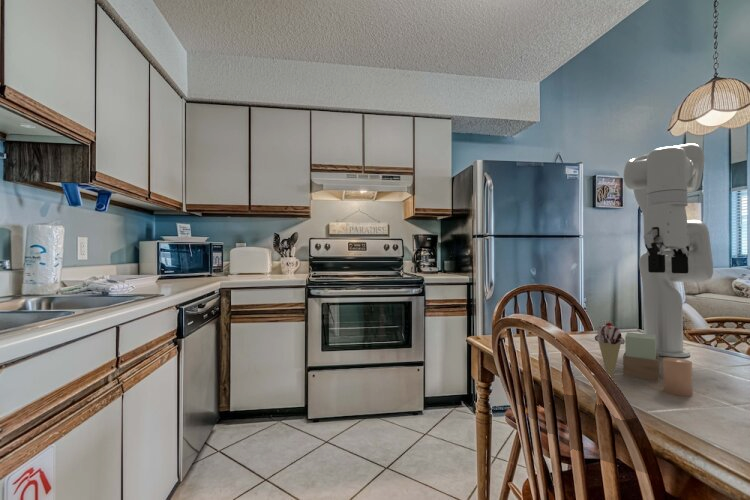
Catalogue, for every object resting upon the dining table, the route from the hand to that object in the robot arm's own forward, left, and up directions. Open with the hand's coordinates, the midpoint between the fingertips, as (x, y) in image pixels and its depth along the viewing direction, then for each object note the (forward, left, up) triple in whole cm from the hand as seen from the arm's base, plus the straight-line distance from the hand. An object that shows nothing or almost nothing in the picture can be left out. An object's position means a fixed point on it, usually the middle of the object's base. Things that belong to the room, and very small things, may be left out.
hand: (668, 272), depth 86 cm
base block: (-5, -6, -26) cm, 27 cm away
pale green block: (-5, -6, -21) cm, 23 cm away
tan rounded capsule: (+5, +1, -26) cm, 27 cm away
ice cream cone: (+11, -11, -26) cm, 31 cm away
